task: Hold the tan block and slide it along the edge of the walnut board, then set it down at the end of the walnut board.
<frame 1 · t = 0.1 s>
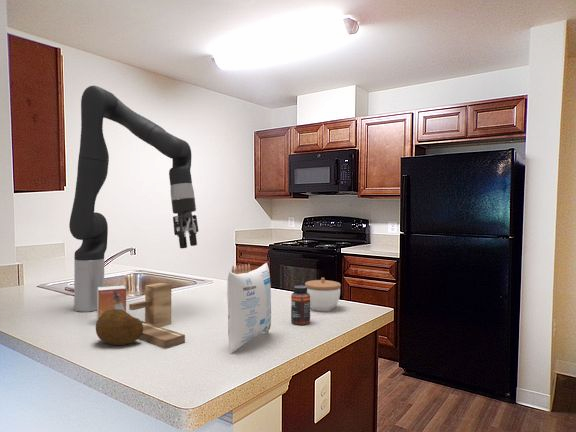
hand: (188, 246, 132), 22 cm above the counter, tool pointing down, fingers open, 8 cm apart
small box: (111, 321, 123), on the counter
tan block: (158, 324, 120), on the counter
pouch: (250, 342, 105), on the counter
lidded bowl: (322, 309, 141), on the counter
walnut board: (146, 335, 110), on the counter
supplement bottle: (300, 323, 124), on the counter
potato: (116, 344, 103), on the counter
ammunition clip: (240, 293, 165), on the counter
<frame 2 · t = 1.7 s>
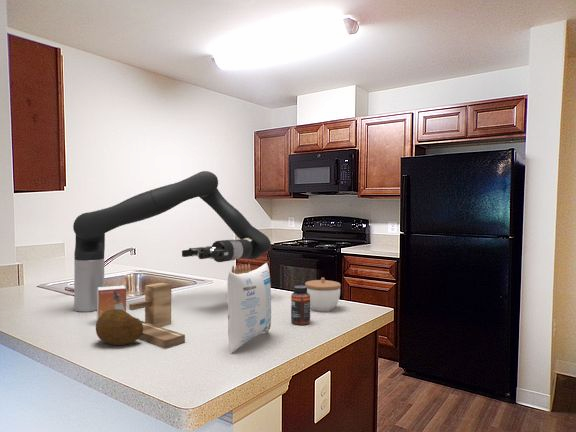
hand: (190, 254, 129), 20 cm above the counter, tool horizontal, fingers open, 8 cm apart
nothing on the counter moved.
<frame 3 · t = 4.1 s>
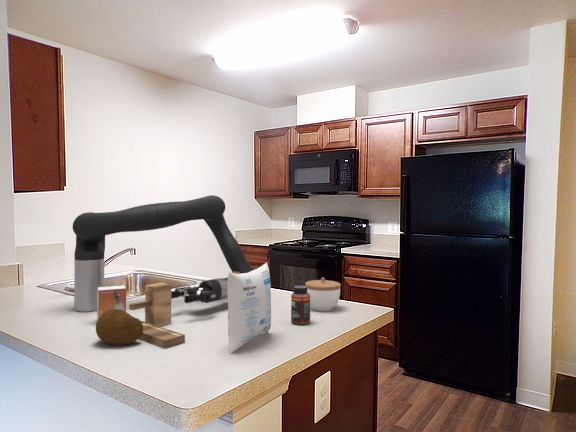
hand: (176, 297, 125), 7 cm above the counter, tool horizontal, fingers open, 8 cm apart
nothing on the counter moved.
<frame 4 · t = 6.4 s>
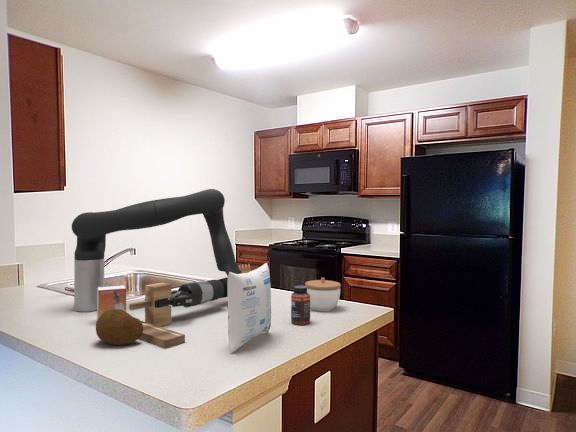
hand: (150, 302, 118), 7 cm above the counter, tool horizontal, fingers closed on tan block, 4 cm apart
tan block: (158, 324, 120), on the counter, touching gripper
everything else where it was.
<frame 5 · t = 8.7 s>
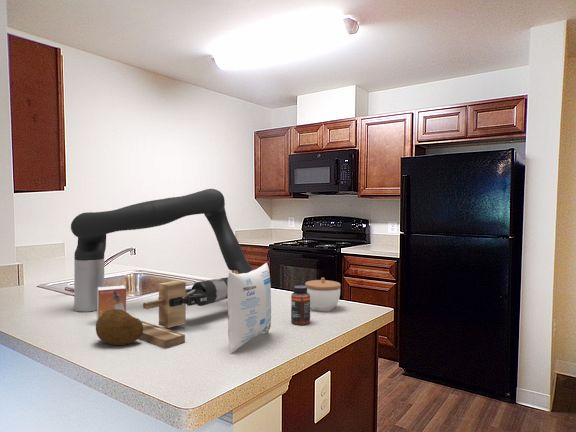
hand: (164, 301, 114), 8 cm above the counter, tool horizontal, fingers closed on tan block, 4 cm apart
tan block: (172, 323, 116), point 1 cm above the counter, touching gripper
everything else where it was.
when the fingers open (8 cm above the counter, at t = 11.1 s): tan block stays where it is, on the counter.
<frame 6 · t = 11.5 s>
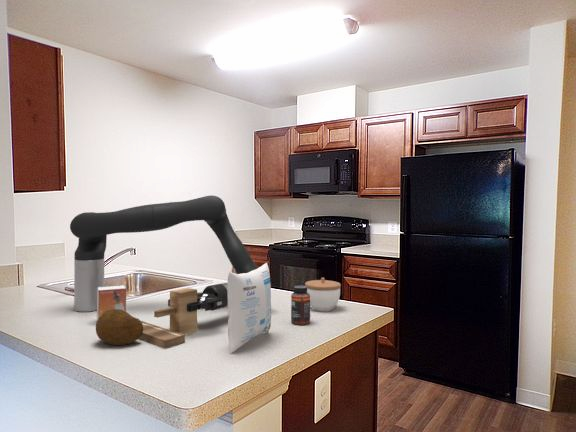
hand: (177, 305, 111), 8 cm above the counter, tool horizontal, fingers open, 8 cm apart
tan block: (183, 332, 113), on the counter
everything else where it was.
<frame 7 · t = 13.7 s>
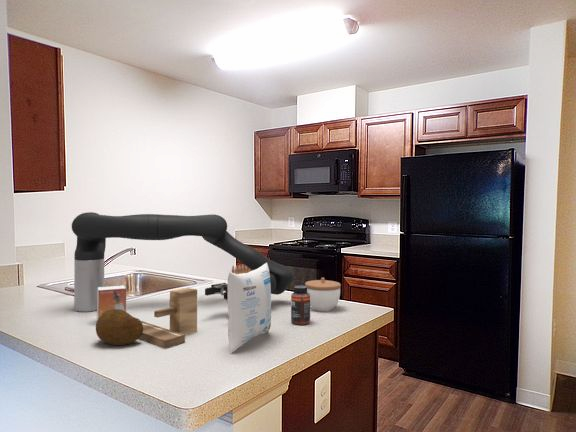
hand: (214, 294, 122), 9 cm above the counter, tool horizontal, fingers open, 8 cm apart
nothing on the counter moved.
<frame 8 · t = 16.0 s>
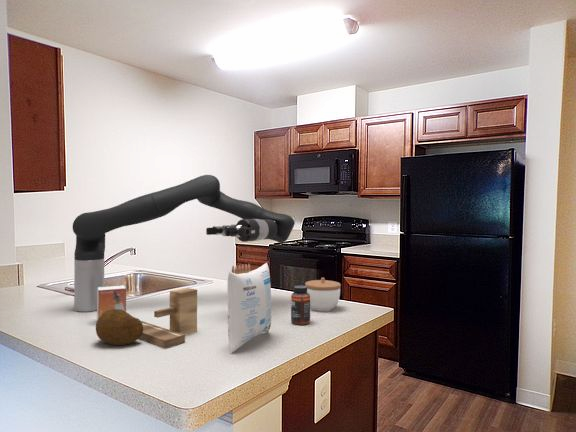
hand: (216, 231, 122), 28 cm above the counter, tool horizontal, fingers open, 8 cm apart
nothing on the counter moved.
at the end: tan block inside the target area (0.7 cm from its centre), on the counter; tan block tilted 0°; tan block moved 11.9 cm from its start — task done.
